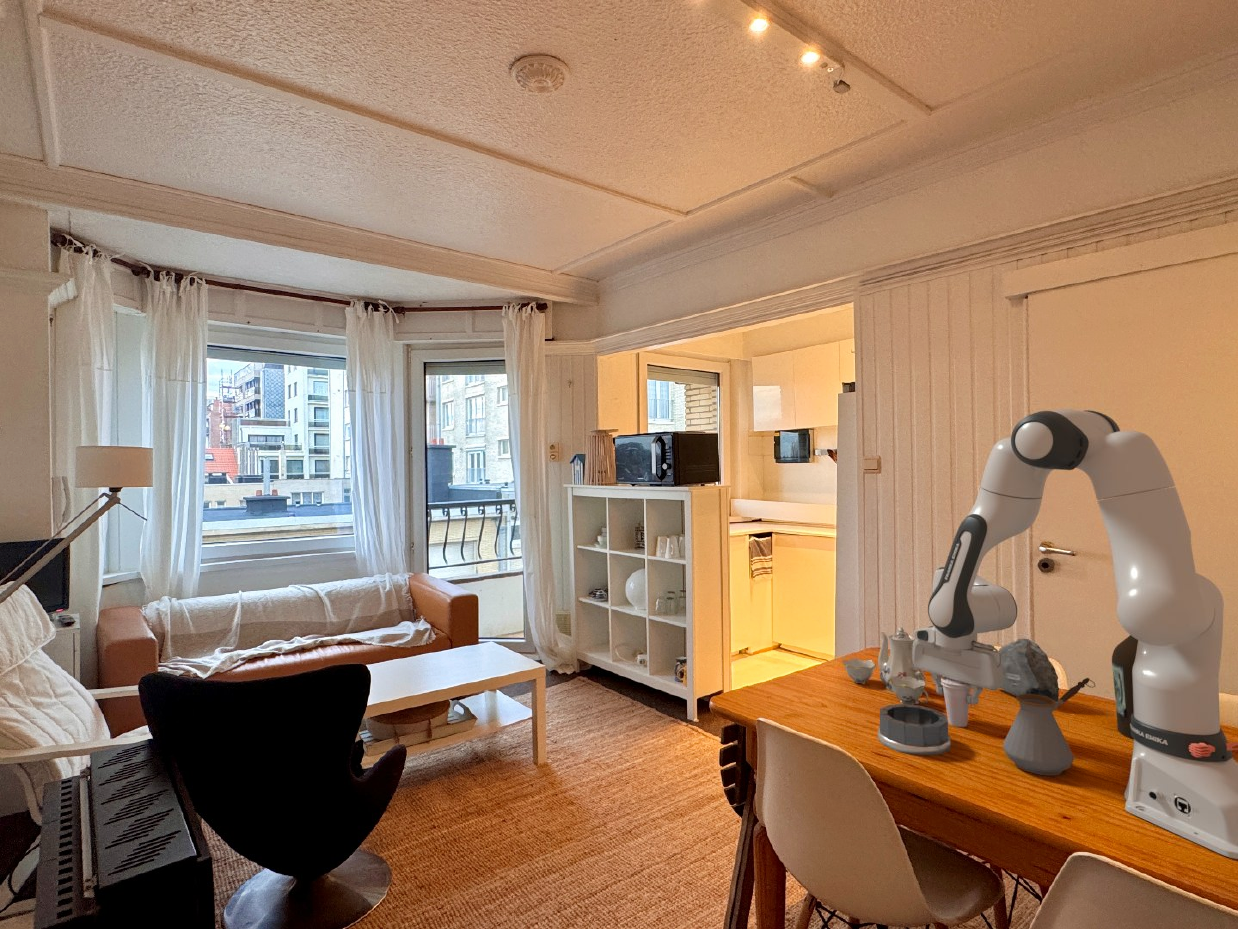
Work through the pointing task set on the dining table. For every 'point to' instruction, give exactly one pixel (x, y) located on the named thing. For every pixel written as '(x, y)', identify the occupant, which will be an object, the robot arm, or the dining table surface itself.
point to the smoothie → (956, 701)
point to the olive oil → (1124, 682)
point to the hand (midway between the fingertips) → (956, 698)
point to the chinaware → (893, 668)
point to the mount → (914, 730)
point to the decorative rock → (1028, 670)
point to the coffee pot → (1039, 735)
